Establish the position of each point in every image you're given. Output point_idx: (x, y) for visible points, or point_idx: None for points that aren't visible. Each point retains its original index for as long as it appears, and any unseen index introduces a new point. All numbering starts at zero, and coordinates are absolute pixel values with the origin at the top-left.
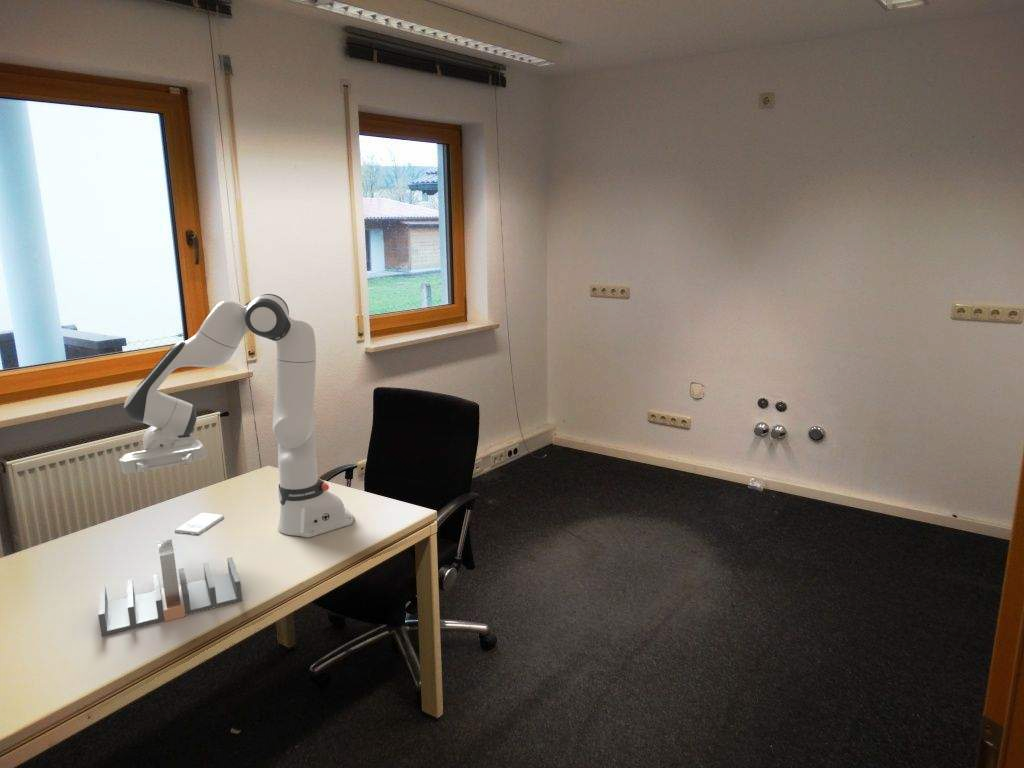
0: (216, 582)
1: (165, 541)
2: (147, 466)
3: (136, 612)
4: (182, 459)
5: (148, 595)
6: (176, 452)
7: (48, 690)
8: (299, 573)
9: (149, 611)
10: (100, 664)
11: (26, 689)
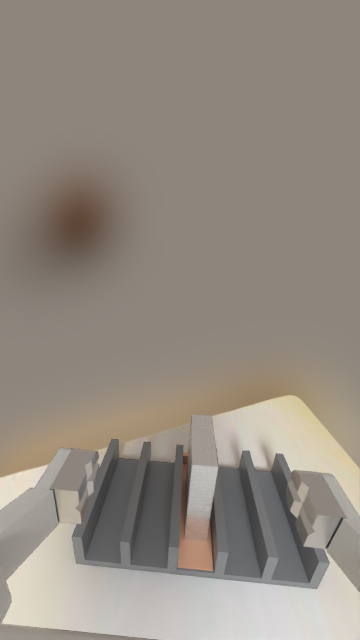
0: (119, 530)
1: (203, 461)
2: (298, 471)
3: (244, 499)
4: (93, 453)
5: (234, 556)
6: (47, 638)
7: (290, 416)
8: (2, 492)
9: (226, 492)
10: (259, 427)
11: (311, 426)
